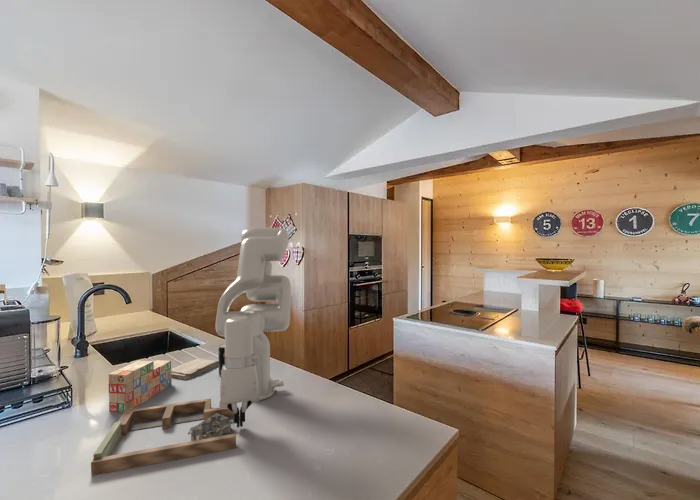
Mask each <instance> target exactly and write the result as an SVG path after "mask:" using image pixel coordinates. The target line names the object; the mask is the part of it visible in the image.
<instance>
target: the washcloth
mask: <svg viewBox="0 0 700 500" xmlns="http://www.w3.org/2000/svg"><path fill="white" fill-rule="evenodd" d="M216 367H219V360H213V359H211V360H210V359H204V358H195V359H194V360H190V361H187V362H185V363H183V364H180V365H178V366H175V367H171V374H172V376H171V378H172V379H179V380H183V381H184V380H185V379H186V380H189V379H192V378H194V377H197V376H198V375H202V374H203V373H205V372H207V371H210V370H212V369H214V368H216Z"/></svg>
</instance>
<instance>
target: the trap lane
mask: <svg viewBox="0 0 700 500" xmlns="http://www.w3.org/2000/svg"><path fill="white" fill-rule="evenodd" d="M215 413H218V414H220V415H223V416H226V417H227V418H228V417H229V419H232V418H233V419H234V413H233V412H232V411H231V410H230V409H228V408H220V407H216V408H215V407H214V408H212V398H205V399H197V400H190V401H183V402H177V403H169V404H163V405H156V406H149V407H141V408H133V409H131V410H126V411H124V412H122V414H121V416H120V417H119V419H117V420H118V421H115V422H114V423H113V424H112V426H111V427H110V429H109V431H108V432H107V434H106V435H105V436H104V438H103V439H102V441H101V442H100V443H99V445H98V447H97V448H96V449H95V452H94V453H93V459H92V460H91V462H90V474H91V475H90V476H95V475H101V474H107V473H112V472H117V471H123V470H127V469H132V468H138V467H142V466H148V465H154V464H158V463H164V462H169V461H175V460H180V459H185V458H191V457H196V456H200V455H207V454H211V453H216V452H222V451H225V450H232V449H236V448H237V432H236V433H229V434H223V435H222V436H218V437H213V438H207V439H202V440H196V441H191V440H190V441H186V442H181V443H179V442H178V443H175V444H168V445H164V446H163V445H161V446H156V447H151V448H145V449H141V450H140V449H139V450H134V451H130V452H129V451H128V452H123V453H118V454H112V453H113V450H114V449H115V448H116V446H117V444H118V443H119V441H120V439H121V437H122V436H126V435H127V433H128V432H134V431H139V430H145V429H152V428H157V427H161V428H162V429H163V430H165V429H169V428H171V426H172V425H177V424H178V425H179V424H182V423H188V422H190V423H191V422H195V421H202V420H203V421H204V420H207V419H208V418H211V417H212V416H213V415H214V414H215ZM111 454H112V455H111Z"/></svg>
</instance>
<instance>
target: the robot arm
mask: <svg viewBox="0 0 700 500" xmlns="http://www.w3.org/2000/svg"><path fill="white" fill-rule="evenodd" d="M240 236H241V237H240V239H241V243H240V250H239V257H238V265H237V273H236V279H235V280H234V281H233V282H232V283H231V284H230V285H229V286H227V288H226V289H225V291H224V292H223V293H222V295H221V296H220V298H219V301H218V304H217V311H216V314H215V315H216V316H215V331H216V334H217V335H218V336H220V337H223V338H224V344H225V365H224V366H223V367H222V372H221V376H220V387H219V389H220V391H219V393H220V395H219V397H220V401H219V403H218V404H219V407H218V408H228V409H230V410H231V411H232V412H233V413H234V417H233V420H234V421H233V423H234V424H236V428H239V427H240V428H242V427H243V426H244V425H243V424H244V423H246V412H247V410H248V409H249V407H250V406H252V404H256V403H259V402H260V401H263V400H266V399H269V398H270V397H272V396H273V395H274V394H275V393H276V392H275V390H276V389H275V388H278V387H280V388H281V387H284V386H285V385H284V384H285V383H284V380H280V379H278V378H277V379H272V377H271V345H270V340H269V339H268V337H267V336H266V334H265V332H266V333H267V332H284V331H286V330H287V329H288V328H289V326H290V322H291V302H292V301H291V299H292V298H291V296H292V286H291V285H292V284H291V281H290V279H289V277H287V276H286V275H281V274H278V275H277V274H276V275H273V274H272V269H273V268H272V267H273V264H272V262H280V261H283V259H284V258H285V255H286V253H287V252H286V251H287V248H288V246H289V240H290V239H289V238H290V237H289V233H288V231H287V229H285V228H283V227H250V228H247V229H244V230H243V231H242V232H241V235H240ZM245 293H246V294H245ZM243 294H245V295H246V298H247V299H248V300H249V301H251V302H277V303H250V304H246V305H245V306H243V307H242V308H241V309H240V310H237V311H229V310H230V307H231V304H233V301H235V300H236V299H237V298H238V297H239V296H241V295H243ZM240 403H241V407H240V408H239V406H238V404H240Z"/></svg>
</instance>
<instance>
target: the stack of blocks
mask: <svg viewBox="0 0 700 500" xmlns="http://www.w3.org/2000/svg"><path fill="white" fill-rule="evenodd" d="M171 369H172V361H171V360H166V359H165V360H164V359H163V360H162V359H161V360H159V359H156V360H136V361H135V362H132V363H129V364H128V365H125V366H123V367H121V368H119V369H117V370H114V371H113V372H109V373H108V400H109V401H108V406H109V407H108V408H109V409H108V410H109V412H116V413H124V411H126V410H133V409H136V407H138V406H139V405H142V404H143V403H144V402H147V401H148V400H149V399H151V398H153V397H154V396H155V395H157V394H159V393H161V392H162V391H163V390H166V389H167V388H168V387H170V386H172V379H173V378H172V377H171V376H172V374H171Z"/></svg>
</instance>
